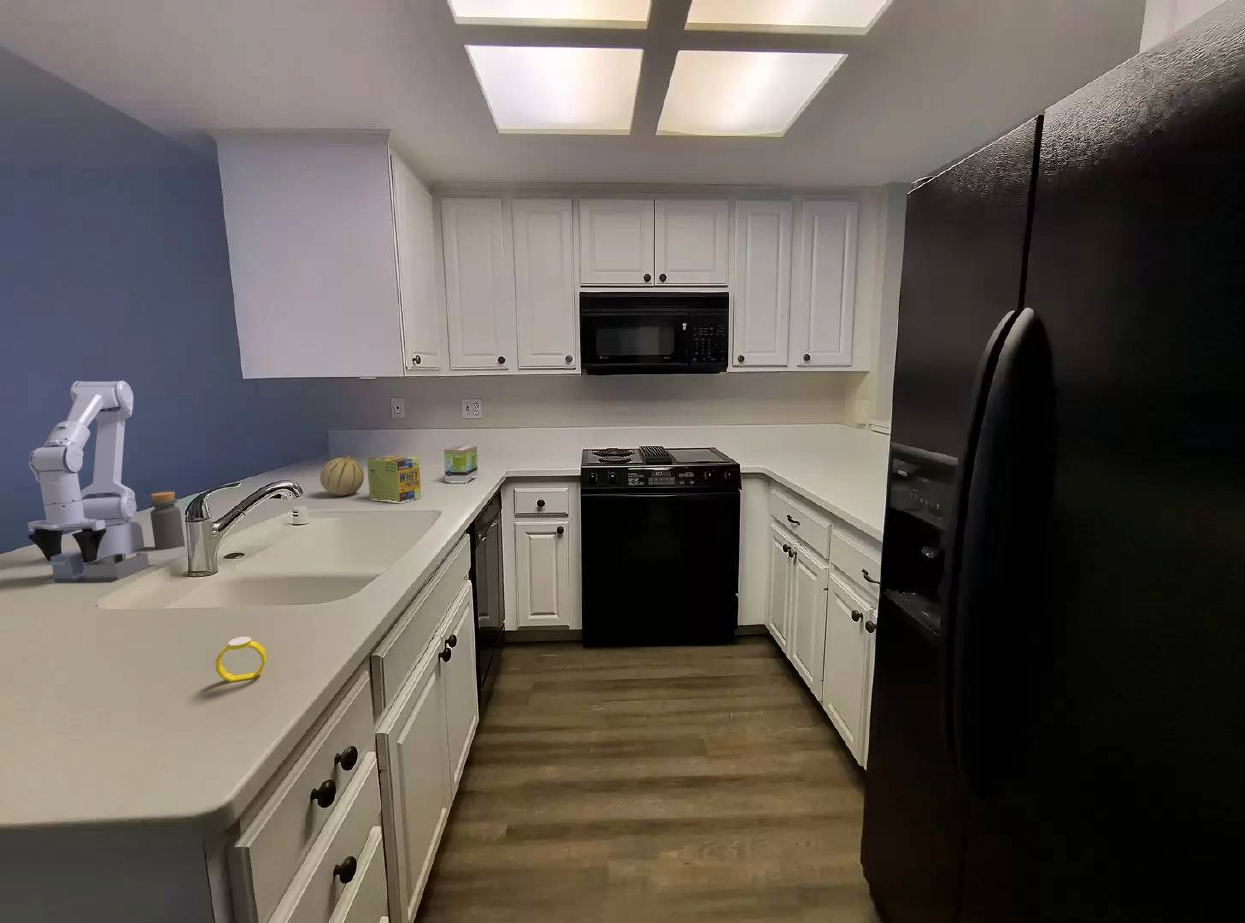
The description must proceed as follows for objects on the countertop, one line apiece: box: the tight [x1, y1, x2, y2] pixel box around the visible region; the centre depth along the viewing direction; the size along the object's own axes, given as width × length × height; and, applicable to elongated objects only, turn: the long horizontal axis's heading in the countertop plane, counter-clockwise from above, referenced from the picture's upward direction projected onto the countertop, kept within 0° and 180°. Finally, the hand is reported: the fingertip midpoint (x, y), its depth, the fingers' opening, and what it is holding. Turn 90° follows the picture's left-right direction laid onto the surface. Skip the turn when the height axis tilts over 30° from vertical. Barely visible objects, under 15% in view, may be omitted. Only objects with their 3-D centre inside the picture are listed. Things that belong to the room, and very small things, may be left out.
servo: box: [44, 549, 99, 579], centre depth 117 cm, size 8×4×5 cm, turn 1°
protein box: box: [366, 455, 422, 502], centre depth 195 cm, size 10×15×16 cm
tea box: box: [443, 445, 479, 482], centre depth 231 cm, size 15×10×15 cm
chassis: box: [39, 552, 155, 585], centre depth 118 cm, size 11×15×4 cm
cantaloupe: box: [319, 455, 365, 496], centre depth 202 cm, size 15×15×15 cm
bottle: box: [150, 491, 186, 551], centre depth 137 cm, size 6×6×15 cm
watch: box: [215, 636, 268, 683], centre depth 77 cm, size 6×3×6 cm, turn 110°
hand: (72, 561), depth 117 cm, fingers open, 7 cm apart
